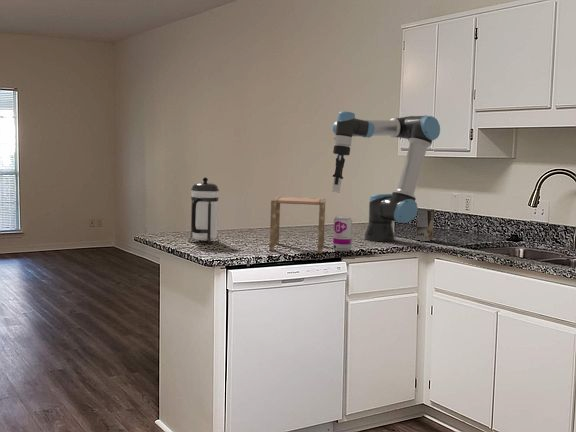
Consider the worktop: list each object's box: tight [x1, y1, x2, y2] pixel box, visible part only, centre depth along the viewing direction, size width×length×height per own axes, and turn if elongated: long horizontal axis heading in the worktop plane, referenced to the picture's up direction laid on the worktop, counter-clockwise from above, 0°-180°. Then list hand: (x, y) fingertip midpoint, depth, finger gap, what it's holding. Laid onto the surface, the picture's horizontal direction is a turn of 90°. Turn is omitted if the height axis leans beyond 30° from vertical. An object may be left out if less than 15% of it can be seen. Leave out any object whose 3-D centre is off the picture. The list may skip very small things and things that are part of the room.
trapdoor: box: [277, 196, 320, 206], centre depth 310 cm, size 18×18×2 cm
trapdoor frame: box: [269, 196, 326, 254], centre depth 311 cm, size 23×23×22 cm
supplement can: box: [332, 215, 353, 252], centre depth 309 cm, size 8×8×15 cm
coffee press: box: [187, 176, 220, 245], centre depth 318 cm, size 17×16×30 cm
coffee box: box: [415, 208, 435, 242], centre depth 351 cm, size 9×6×16 cm
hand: (336, 192), depth 314 cm, fingers open, 13 cm apart
